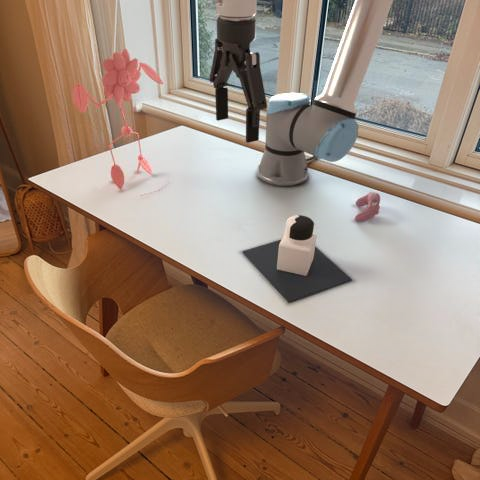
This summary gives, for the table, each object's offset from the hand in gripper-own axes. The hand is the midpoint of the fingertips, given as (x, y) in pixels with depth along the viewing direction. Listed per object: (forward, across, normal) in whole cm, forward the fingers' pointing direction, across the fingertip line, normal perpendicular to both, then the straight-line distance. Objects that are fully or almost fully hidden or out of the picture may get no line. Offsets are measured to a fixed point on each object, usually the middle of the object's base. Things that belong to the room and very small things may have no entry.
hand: (236, 129), depth 102 cm
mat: (+26, +20, +5) cm, 33 cm away
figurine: (+26, -35, -14) cm, 46 cm away
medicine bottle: (+26, +20, +5) cm, 33 cm away
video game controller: (+27, +9, +35) cm, 45 cm away
